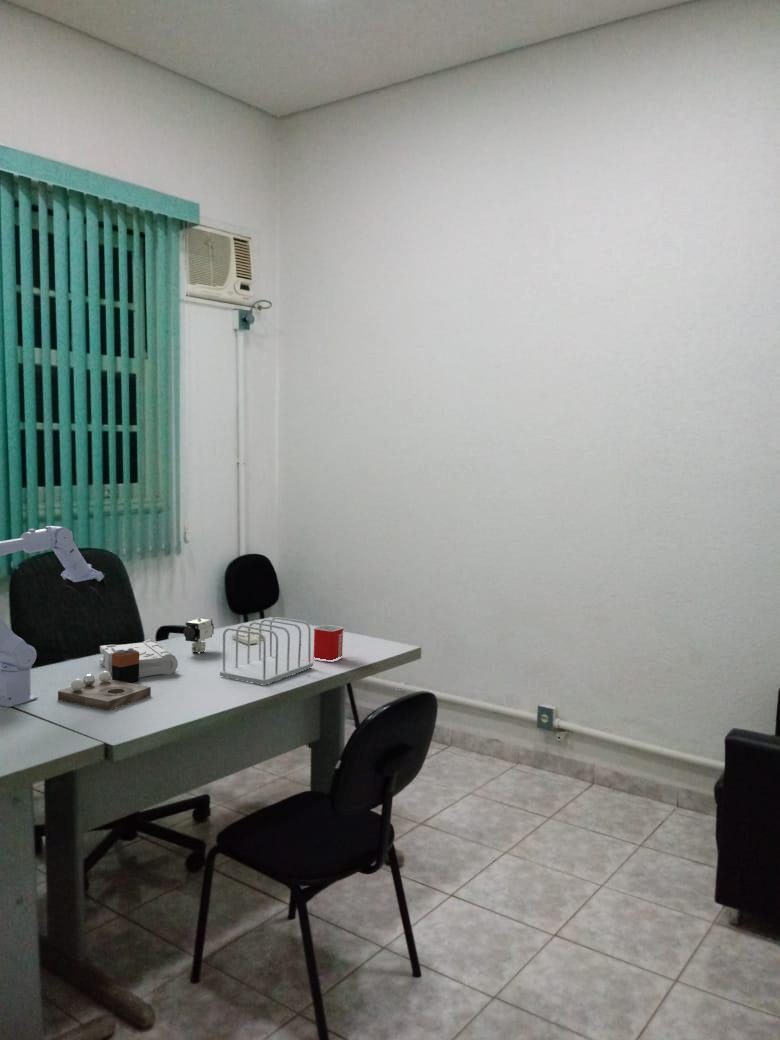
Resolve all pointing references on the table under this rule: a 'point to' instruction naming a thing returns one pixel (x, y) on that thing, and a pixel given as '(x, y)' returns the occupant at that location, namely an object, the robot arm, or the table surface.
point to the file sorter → (267, 666)
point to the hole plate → (105, 694)
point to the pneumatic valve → (198, 633)
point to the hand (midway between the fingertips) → (95, 596)
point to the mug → (328, 642)
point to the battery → (125, 666)
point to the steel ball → (88, 680)
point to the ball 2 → (105, 676)
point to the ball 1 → (77, 684)
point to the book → (143, 658)
